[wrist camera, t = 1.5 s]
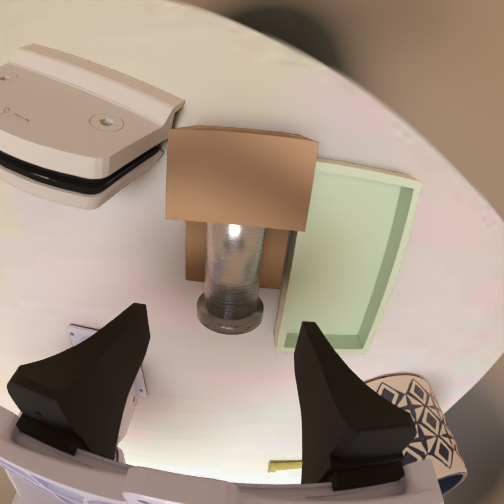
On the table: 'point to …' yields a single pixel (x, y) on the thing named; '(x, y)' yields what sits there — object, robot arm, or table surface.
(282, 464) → the key
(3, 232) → the table surface
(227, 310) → the pin
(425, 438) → the planter
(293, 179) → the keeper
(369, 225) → the tray
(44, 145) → the white curved plastic device
